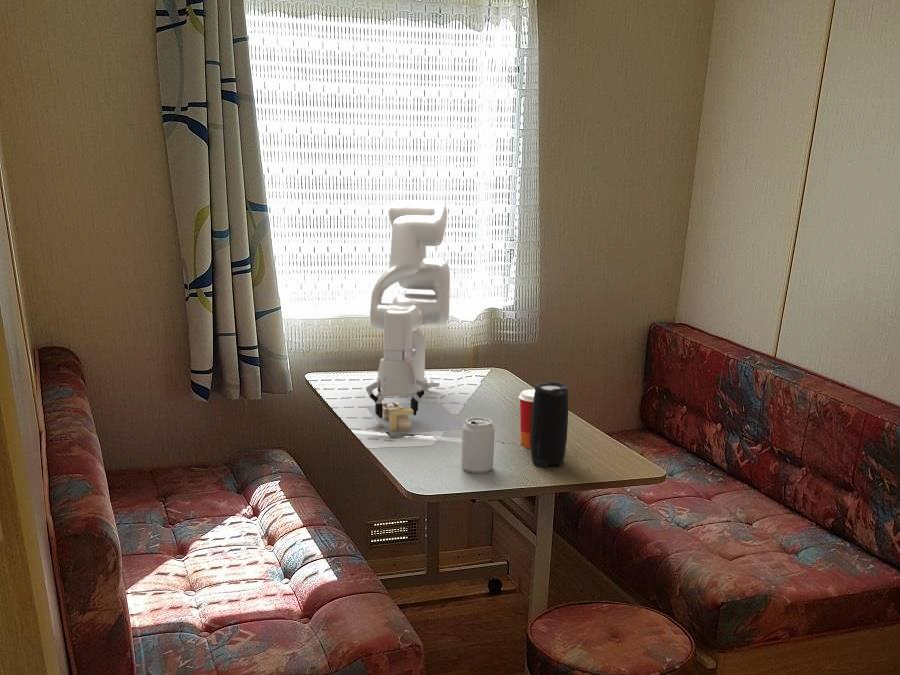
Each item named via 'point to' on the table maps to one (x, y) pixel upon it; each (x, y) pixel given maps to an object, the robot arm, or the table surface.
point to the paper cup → (526, 416)
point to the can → (478, 445)
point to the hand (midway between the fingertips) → (396, 415)
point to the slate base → (419, 418)
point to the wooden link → (402, 420)
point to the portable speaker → (549, 424)
